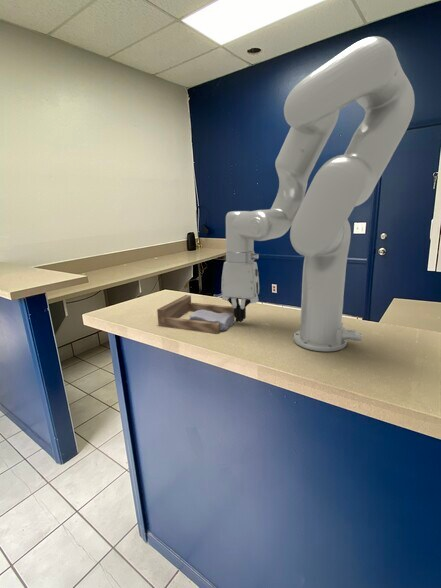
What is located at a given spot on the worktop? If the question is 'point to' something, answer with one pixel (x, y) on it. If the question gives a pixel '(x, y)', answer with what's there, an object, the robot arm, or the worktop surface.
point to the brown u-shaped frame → (179, 307)
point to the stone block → (214, 318)
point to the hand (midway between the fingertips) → (239, 320)
